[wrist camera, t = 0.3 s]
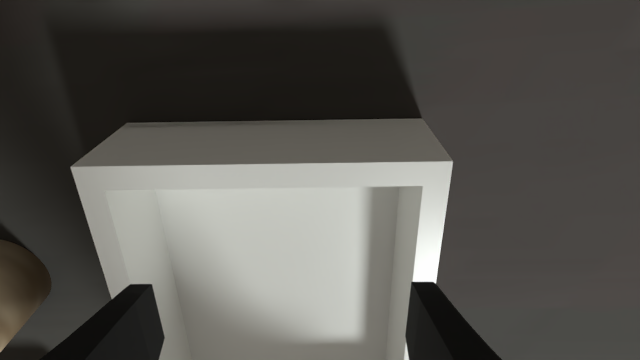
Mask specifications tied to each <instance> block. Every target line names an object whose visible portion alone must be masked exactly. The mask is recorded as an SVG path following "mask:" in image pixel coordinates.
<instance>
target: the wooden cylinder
mask: <svg viewBox="0 0 640 360" xmlns="http://www.w3.org/2000/svg"><path fill="white" fill-rule="evenodd" d="M50 290H51V278H50V275H49V273H48V270H47V269H46V267H45V266H44V264H43V263H42V262H41V261H40V260H39V259H38V258H37V257H36V256H35V255H34V254H33V253H31V252H30V251H28V250H27V249H25V248H23V247H21V246H19V245H17V244H15V243H12V242H9V241H5V240H0V352H1V351H2V350H3V349H4V348H5V346H6V345H7V344H8V343H9V342H10V340H11V339H12V338H13V337H14V336H15V334H16V333H17V332H18V331H19V330H20V329H21V327H22V326H23V325H24V324H25V323H26V321H27V320H28V319H29V318H30V317H31V315H32V314H33V313H34V312H35V311H36V310H37V308H38V307H39V306H40V305H41V304H42V302H43V301H44V300H45V299H46V298H47V296H48V295H49V293H50Z"/></svg>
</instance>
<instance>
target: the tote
mask: <svg viewBox="0 0 640 360" xmlns="http://www.w3.org/2000/svg"><path fill="white" fill-rule="evenodd" d="M452 165H453V161H452V159H451V158H450V156H449V155H448V154H447V152H446V151H445V149H444V148H443V147H442V145H441V144H440V143H439V141H438V140H437V138H436V137H435V136H434V134H433V133H432V131H431V130H430V129H429V127H428V126H427V124H426V123H425V122H424V120H423V119H422V118H418V119H350V120H283V121H215V122H147V123H126V124H125V125H124V126H122V127H121V128H120V129H118V130H117V131H116V132H115V133H113V134H112V135H111V136H109V137H108V138H107V139H106V140H104V141H103V142H102V143H100V144H99V145H98V146H97V147H95V148H94V149H93V150H91V151H90V152H89V153H88V154H86V155H85V156H84V157H82V158H81V159H80V160H78V161H77V162H76V163H75V164H73V165H72V166H71V171H72V174H73V177H74V180H75V183H76V187H77V190H78V193H79V196H80V199H81V202H82V206H83V209H84V212H85V215H86V218H87V222H88V225H89V228H90V231H91V234H92V238H93V241H94V244H95V247H96V250H97V254H98V257H99V260H100V263H101V266H102V270H103V273H104V276H105V279H106V282H107V286H108V289H109V292H110V295H111V298H112V299H113V298H114V297H115V296H116V295H118V294H119V293H120V292H121V291H122V290H123V289H125V288H126V287H127V286H128V285H130V284H152V286H153V291H154V295H155V299H156V303H157V307H158V311H159V316H160V320H161V324H162V328H163V332H164V336H165V339H164V343H163V346H162V350H161V353H160V357H159V360H409V356H408V350H407V344H406V338H405V333H406V325H407V316H408V307H409V298H410V290H411V282H434V283H435V284H436V278H437V271H438V264H439V257H440V250H441V243H442V236H443V228H444V221H445V214H446V207H447V200H448V193H449V186H450V179H451V172H452Z"/></svg>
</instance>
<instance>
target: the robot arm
mask: <svg viewBox="0 0 640 360" xmlns="http://www.w3.org/2000/svg"><path fill="white" fill-rule="evenodd" d="M405 338H406V344H407V350H408V356H409V360H502V359H501V358H500V357H499V356H498V355H497V354H496V353H495V352H494V351H493V350H492V349H491V348H490V347H489V346H488V345H487V344H486V343H485V341H484V340H483V339H482V338H481V337H480V336H479V335H478V334H477V333H476V331H475V330H474V329H473V328H472V327H471V326H470V325H469V324H468V322H467V321H466V320H465V319H464V318H463V317H462V315H461V314H460V313H459V312H458V311H457V309H456V308H455V307H454V306H453V305H452V303H451V302H450V301H449V300H448V298H447V297H446V296H445V295H444V293H443V292H442V291H441V290H440V288H439V287H438V286H437V285H436V284H435V283H434V282H411V290H410V298H409V307H408V316H407V325H406V333H405ZM164 339H165V336H164V332H163V328H162V324H161V320H160V316H159V311H158V307H157V303H156V299H155V295H154V291H153V286H152V284H130V285H128V286H127V287H126V288H125V289H123V290H122V291H121V292H120V293H119V294H118V295H116V296H115V297H114V298H113V299H112V300H111V301H109V302H108V303H107V304H106V305H105V306H104V307H103V308H101V309H100V310H99V311H98V312H97V313H96V314H95V315H93V316H92V317H91V318H90V319H89V320H88V321H86V322H85V323H84V324H83V325H82V326H80V327H79V328H78V329H77V330H76V331H75V332H73V333H72V334H71V335H70V336H69V337H67V338H66V339H65V340H64V341H63V342H61V343H60V344H59V345H58V346H56V347H55V348H54V349H52V350H51V351H50V352H49V353H47V354H46V355H45V356H44V357H42V358H41V359H40V360H159V357H160V353H161V350H162V346H163V343H164Z"/></svg>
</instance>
